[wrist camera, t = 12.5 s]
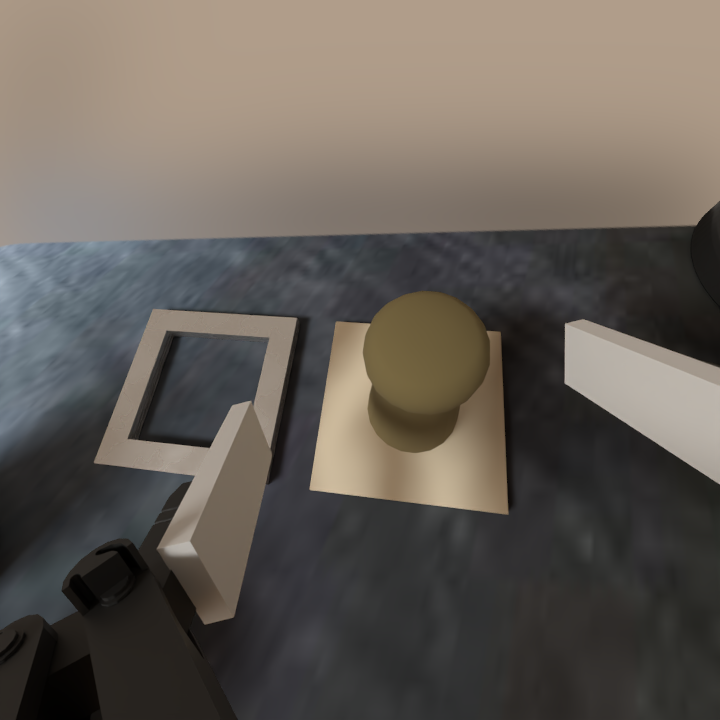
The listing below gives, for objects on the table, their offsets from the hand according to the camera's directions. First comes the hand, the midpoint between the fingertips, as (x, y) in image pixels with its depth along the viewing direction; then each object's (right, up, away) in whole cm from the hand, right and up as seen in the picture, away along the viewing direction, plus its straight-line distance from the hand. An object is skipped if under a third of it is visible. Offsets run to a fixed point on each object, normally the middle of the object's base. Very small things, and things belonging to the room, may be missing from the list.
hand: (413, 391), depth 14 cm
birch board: (+1, -2, +10) cm, 10 cm away
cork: (+1, -2, +9) cm, 9 cm away
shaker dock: (-13, -1, +11) cm, 18 cm away
